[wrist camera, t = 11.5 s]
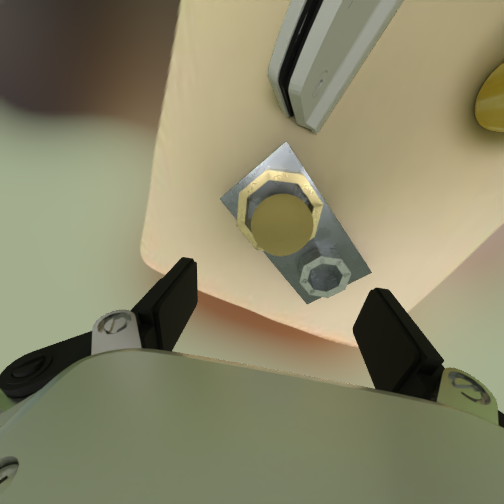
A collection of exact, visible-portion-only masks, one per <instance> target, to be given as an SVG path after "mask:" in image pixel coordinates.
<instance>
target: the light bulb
mask: <svg viewBox="0 0 504 504" xmlns="http://www.w3.org/2000/svg"><path fill="white" fill-rule="evenodd" d="M251 231H252V235H253V237H254V239H255V241H256V243H257V244H258V245H259V246H260V247H261V248H262V249H263V250H264V251H266V252H267V253H269V254H271V255H275V256H286V255H290V254H293V253H295V252H297V251H299V250H300V249H301V248H303V247H304V246H305V245H306V244H307V242H308V241H309V239H310V238H311V235H312V232H313V217H312V214H311V211H310V210H309V208H308V206H307V205H306V204H305V203H304V202H303V201H302V200H301V199H299V198H298V197H296V196H293V195H290V194H276V195H272V196H270V197H268V198H266V199H265V200H263V201H262V202H261V203H260V204H259V205H258V206H257V208H256V209H255V211H254V213H253V216H252V220H251Z"/></svg>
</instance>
